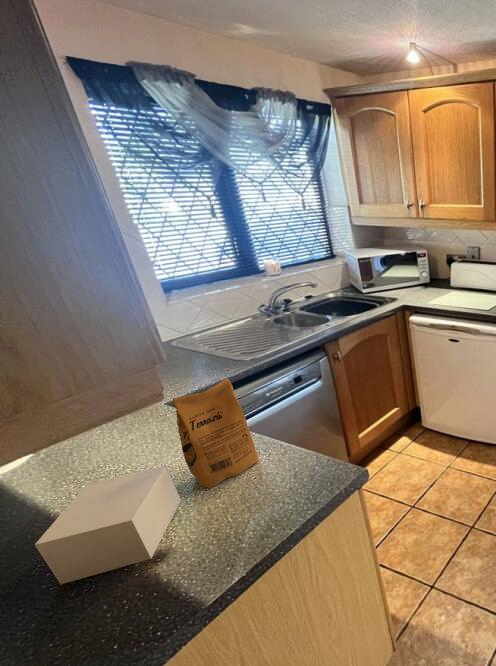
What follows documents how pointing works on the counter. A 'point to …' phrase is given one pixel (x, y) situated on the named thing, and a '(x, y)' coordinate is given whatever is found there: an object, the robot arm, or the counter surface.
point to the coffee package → (214, 434)
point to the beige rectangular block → (110, 525)
